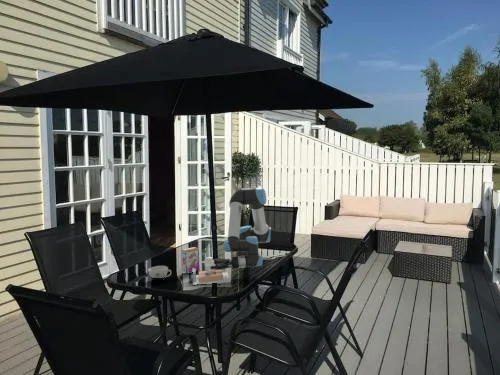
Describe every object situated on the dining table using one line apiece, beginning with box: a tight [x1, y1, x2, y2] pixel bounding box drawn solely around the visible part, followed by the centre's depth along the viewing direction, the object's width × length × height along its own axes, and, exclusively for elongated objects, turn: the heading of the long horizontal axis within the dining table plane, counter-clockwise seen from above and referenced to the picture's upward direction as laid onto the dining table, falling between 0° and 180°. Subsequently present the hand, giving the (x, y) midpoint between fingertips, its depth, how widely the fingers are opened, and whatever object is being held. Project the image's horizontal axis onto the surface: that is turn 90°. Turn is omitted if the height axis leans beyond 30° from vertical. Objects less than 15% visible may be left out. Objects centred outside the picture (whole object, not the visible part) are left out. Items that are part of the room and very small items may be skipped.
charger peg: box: [204, 256, 215, 275], centre depth 269 cm, size 4×4×13 cm
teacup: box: [147, 265, 172, 279], centre depth 274 cm, size 15×12×8 cm
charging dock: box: [192, 268, 232, 286], centre depth 269 cm, size 20×23×7 cm
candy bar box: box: [181, 246, 200, 273], centre depth 290 cm, size 11×5×16 cm, turn 134°
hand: (204, 265), depth 268 cm, fingers open, 12 cm apart
